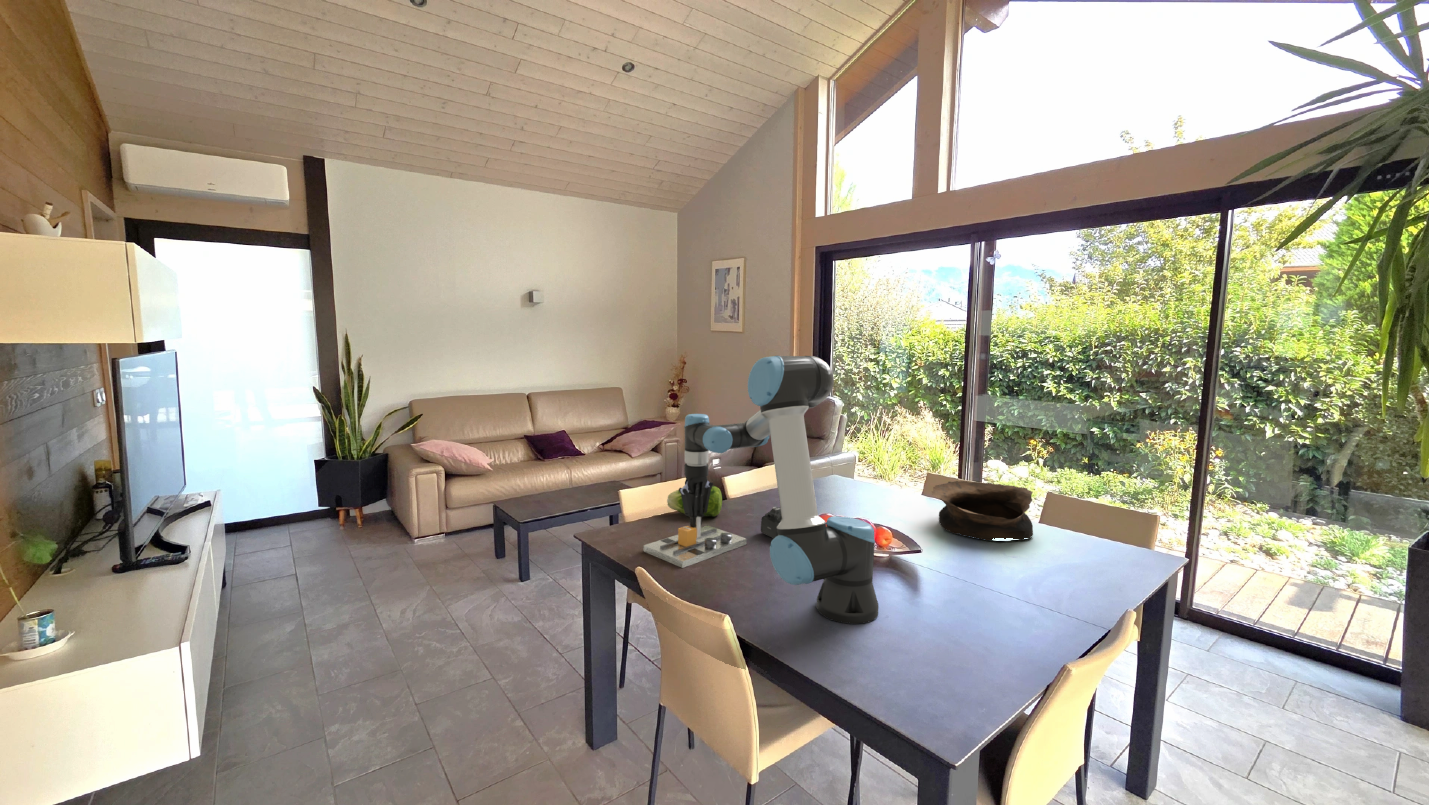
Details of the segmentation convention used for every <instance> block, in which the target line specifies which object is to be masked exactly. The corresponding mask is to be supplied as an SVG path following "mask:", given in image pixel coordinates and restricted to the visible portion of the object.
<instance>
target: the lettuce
mask: <svg viewBox="0 0 1429 805" xmlns="http://www.w3.org/2000/svg"><path fill="white" fill-rule="evenodd" d="M666 503H667V506H668V507H669V508H670V509H671V510H674V511H677V512H678V513H681V514H684V515H685V512H684V507H683V501H682V496H681V493H680V492H679V489H677V490H674V491H672V492H670V493H669V494H668V495H667V500H666ZM722 506H723V495H722V491H721V489H720V488H719V487H717V486H715V485H713V486H712V489H711V492H710V498H709V503H708V509H707V512H706V513H704V514H705V515H704V517H716V516H718V515H719V514H720V513H721V510H722ZM703 509H704V508H703Z"/></svg>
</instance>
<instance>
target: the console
mask: <svg viewBox="0 0 1429 805" xmlns="http://www.w3.org/2000/svg"><path fill="white" fill-rule="evenodd" d="M747 540H748V539H747V538H745V537H743V536H740V535H737V534H735V533H732V532H728V531H726V530H722V529H720V528H717V527H713V526H711V525H708V524H707V525H704V526H701V537H699V538H696V544H693V545H690V546H687V547H685V546H683V545H680V544H678V534H675V535H672V536H669V537H666V538H663V539H659V540H657V541H653V542H649V543H646V544H643V552H644V553H646V554H648V555H651V556H653V557H655V558H657V559H661V560H663V561H665V562H667V563H670V564H672V565H674V566H676V567H679V568H682V569H684V568H686V567H689V566H692V565H695V564H697V563H700V562H703V561H706V560H708V559H710V558H714V557H716V556H719V555H722V554H724V553H727V552H730V551H733V550H735V549H738V548H741V547H744V546H746V545H747Z"/></svg>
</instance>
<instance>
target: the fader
mask: <svg viewBox="0 0 1429 805" xmlns="http://www.w3.org/2000/svg"><path fill="white" fill-rule="evenodd" d="M677 535H678V544H680V545H683V546H685V547H687V546H690V545H693V544H696V528H693V527H691V526H690V525H685V526H684V525H683V526H682V527H678V528H677Z"/></svg>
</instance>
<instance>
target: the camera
mask: <svg viewBox="0 0 1429 805" xmlns="http://www.w3.org/2000/svg"><path fill="white" fill-rule="evenodd" d="M781 520H782V515H781V508H780V506H779V507H778V506H773V507H772V509H770V511H768V512H766V513H765V514H764V515H763V516H761V521H760V532H761V534H763V535H766V536H767V537H770V538H772V540H773V539H774V538H775V537H776V536H778V533H777V526H778V525H779V523H780V522H781Z"/></svg>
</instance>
